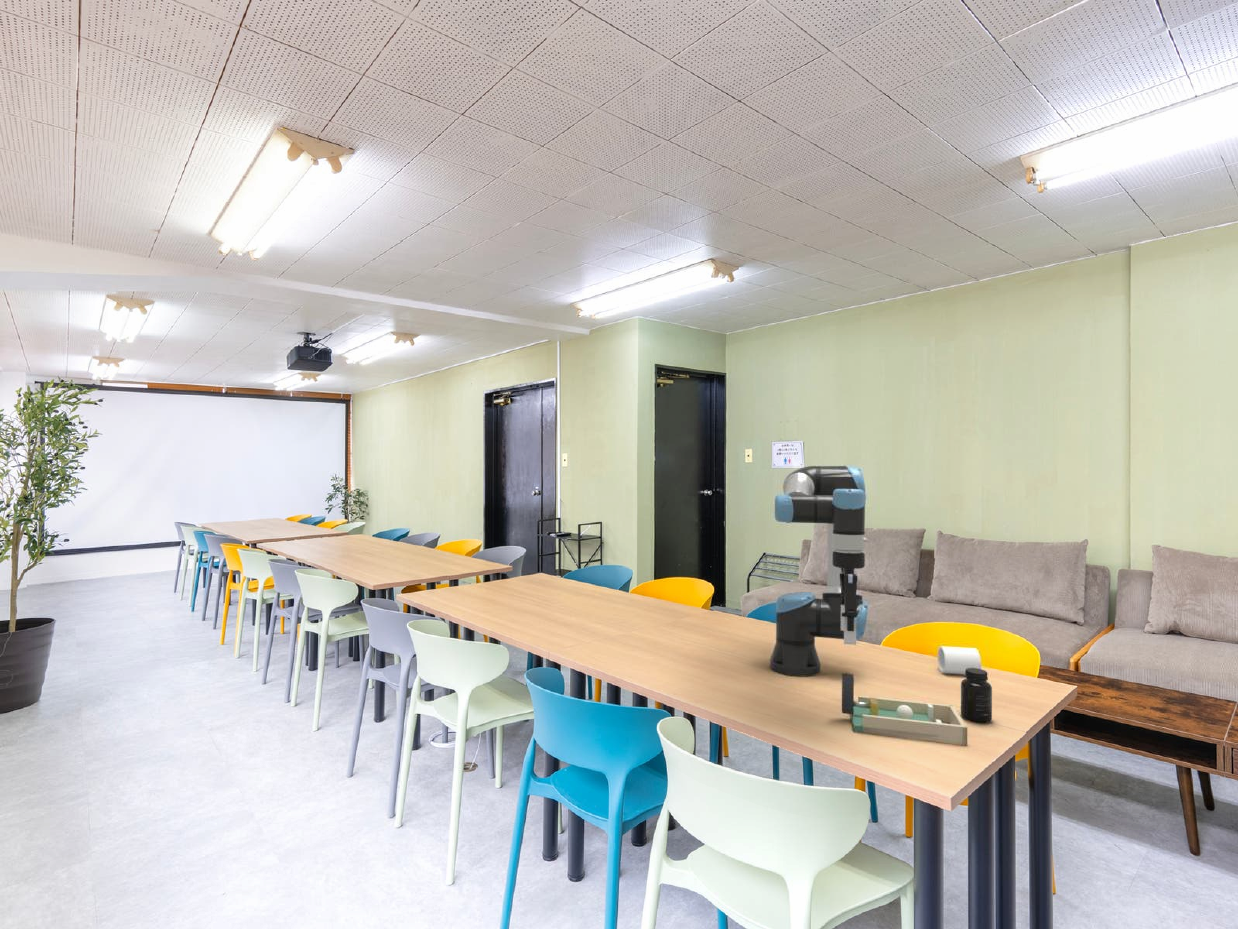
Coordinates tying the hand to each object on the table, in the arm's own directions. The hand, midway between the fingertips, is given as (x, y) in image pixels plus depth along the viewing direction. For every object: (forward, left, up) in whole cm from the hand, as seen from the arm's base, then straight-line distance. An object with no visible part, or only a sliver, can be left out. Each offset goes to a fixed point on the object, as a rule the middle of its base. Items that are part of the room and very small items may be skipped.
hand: (848, 637), depth 155 cm
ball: (+13, 0, -17) cm, 22 cm away
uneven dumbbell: (+3, 0, -19) cm, 19 cm away
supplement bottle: (+31, +11, -21) cm, 39 cm away
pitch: (+13, 0, -21) cm, 24 cm away
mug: (+35, +51, -21) cm, 65 cm away
